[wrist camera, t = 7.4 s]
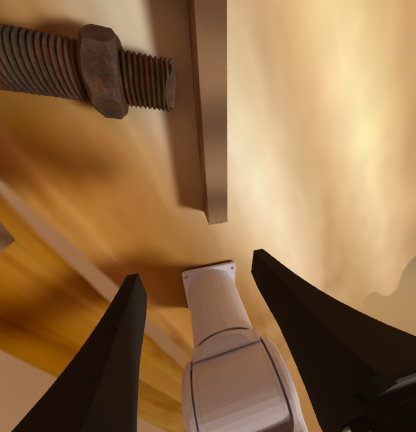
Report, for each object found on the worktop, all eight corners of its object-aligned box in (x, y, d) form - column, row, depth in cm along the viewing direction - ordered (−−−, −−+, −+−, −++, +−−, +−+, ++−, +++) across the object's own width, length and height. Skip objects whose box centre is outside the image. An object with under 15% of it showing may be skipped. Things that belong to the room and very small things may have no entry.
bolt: (171, 103, 16) (-37, 73, 13) (174, 28, 12) (-138, -52, 8) (175, 141, 14) (-95, 118, 10) (180, 61, 9) (-291, -36, 6)
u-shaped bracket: (220, 209, 21) (227, 221, 18) (-8, 243, 18) (-37, 265, 15) (212, -69, 11) (226, -126, 8) (-333, -119, 7) (-596, -243, 5)
